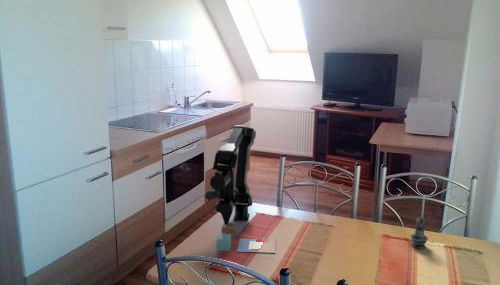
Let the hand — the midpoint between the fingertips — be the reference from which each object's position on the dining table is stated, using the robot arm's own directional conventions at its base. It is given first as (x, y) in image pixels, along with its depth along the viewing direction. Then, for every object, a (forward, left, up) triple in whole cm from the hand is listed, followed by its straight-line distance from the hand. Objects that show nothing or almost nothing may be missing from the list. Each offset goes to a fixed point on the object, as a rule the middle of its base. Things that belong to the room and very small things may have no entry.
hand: (228, 219), depth 161 cm
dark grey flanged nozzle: (+3, +71, -7) cm, 71 cm away
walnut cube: (0, 0, -7) cm, 7 cm away
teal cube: (+10, 0, -7) cm, 12 cm away
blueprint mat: (+8, +12, -7) cm, 16 cm away
